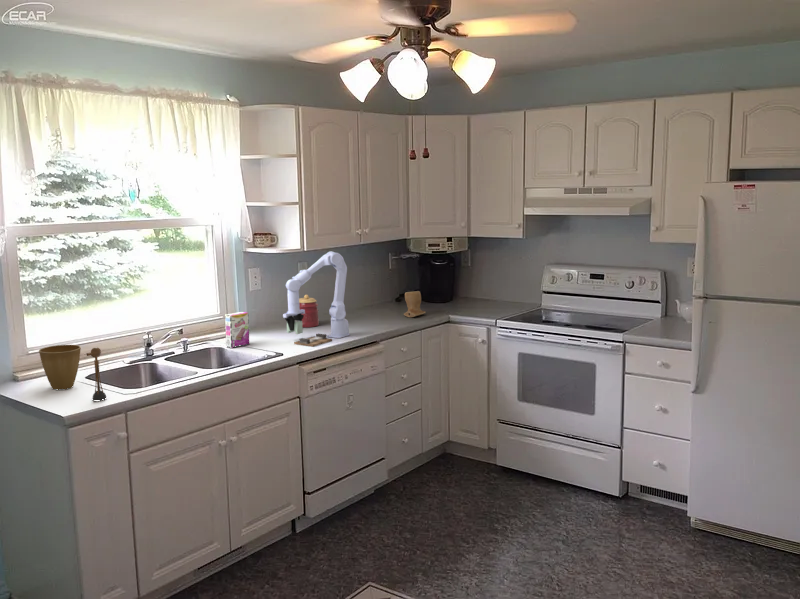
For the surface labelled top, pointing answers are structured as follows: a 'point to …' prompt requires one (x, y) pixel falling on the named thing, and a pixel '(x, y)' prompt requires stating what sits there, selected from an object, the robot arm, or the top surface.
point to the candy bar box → (237, 329)
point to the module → (296, 327)
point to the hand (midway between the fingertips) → (294, 329)
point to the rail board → (313, 340)
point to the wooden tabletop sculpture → (97, 374)
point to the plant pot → (60, 364)
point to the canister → (309, 311)
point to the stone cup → (413, 304)
